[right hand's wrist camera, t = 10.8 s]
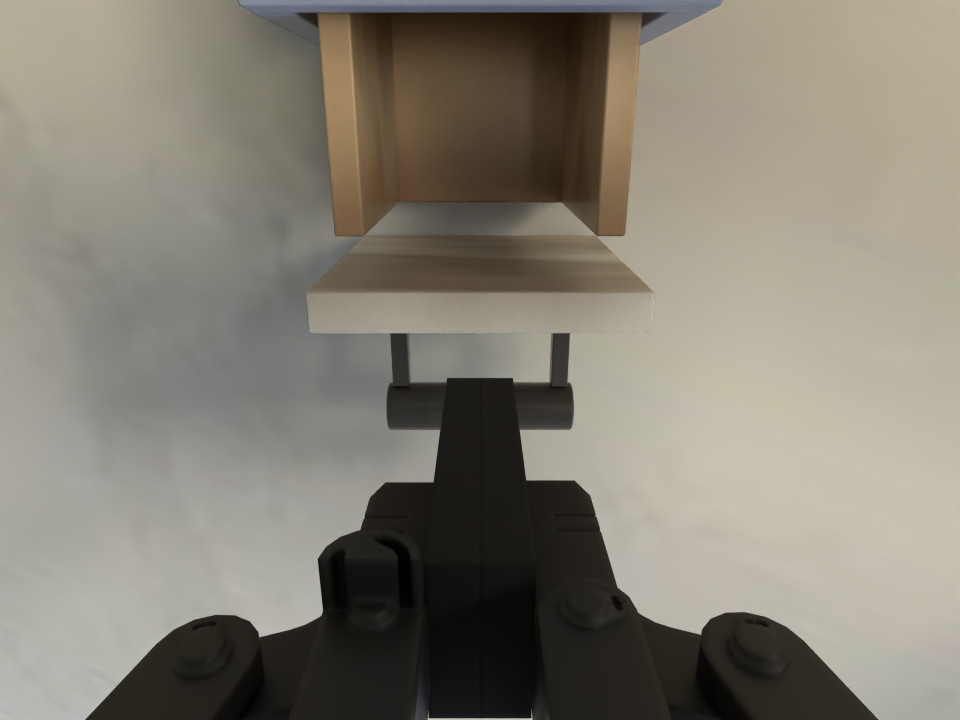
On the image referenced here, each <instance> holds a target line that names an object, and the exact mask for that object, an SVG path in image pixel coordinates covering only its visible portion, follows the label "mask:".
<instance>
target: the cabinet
mask: <svg viewBox="0 0 960 720" xmlns="http://www.w3.org/2000/svg"><path fill="white" fill-rule="evenodd" d="M238 3H239V5H240V6H242V7H244V8H246V9H248V10H250V11H252V12H253V13H254V14H256V15H258V16H261V17H263V18H265V19H267V20H269V21H271V22H273V23H275V24H277V25H279V26H281V27H283V28H285V29H287V30H289V31H291V32H293V33H295V34H297V35H299V36H301V37H303V38H305V39H307V40H309V41H311V42H313V43H315V44H317V45H319V46H320V40H319V28H318V15H317V12H642V25H641V38H640V45H642V44H644V43H646V42H648V41H650V40H652V39H654V38H656V37H658V36H660V35H662V34H664V33H666V32H668V31H670V30H672V29H674V28H676V27H678V26H680V25H682V24H684V23H686V22H688V21H690V20H692V19H694V18H696V17H698V16H700V15H702V14H704V13H706V12H707V11H709V10H711V9H713V8H715V7H717V6H719V5H721V3H722V0H238Z"/></svg>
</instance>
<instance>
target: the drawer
mask: <svg viewBox="0 0 960 720" xmlns="http://www.w3.org/2000/svg"><path fill="white" fill-rule="evenodd" d="M317 15H318V28H319V40H320V53H321V66H322V78H323V91H324V104H325V116H326V129H327V142H328V154H329V167H330V180H331V192H332V205H333V217H334V230H335V235H336V236H364V235H365V234H366V233H367V232H368V231H369V230H370V229H371V228H372V227H373V226H374V225H375V224H376V223H377V222H378V221H380V220H381V219H382V218H383V217H384V216H385V215H386V214H387V213H388V212H389V211H390V210H391V209H392V208H393V207H394V206H395V205H396V204H397V203H398V202H562V203H563V204H564V205H565V206H566V207H567V208H568V209H569V210H570V211H571V212H572V213H573V214H574V215H576V216H577V217H578V218H579V219H580V220H581V221H582V222H583V223H584V224H585V225H586V226H587V227H588V228H589V229H590V230H591V231H592V232H594V233H595V234H596V235H597V236H624V235H625V230H626V217H627V205H628V192H629V179H630V166H631V153H632V140H633V128H634V115H635V102H636V89H637V76H638V64H639V51H640V38H641V25H642V12H317ZM305 295H306V305H307V315H308V326H309V332H310V333H390V335H391V354H392V373H393V382H392V383H390V384H389V387H388V392H387V423H388V427H389V429H390V430H441V422H442V415H443V407H444V399H445V391H446V384H447V382H410V381H411V376H410V352H409V333H551V355H550V382H513V384H514V391H515V399H516V407H517V415H518V422H519V430H570V429H571V428H572V424H573V415H574V400H573V390H572V386H571V383H569V382H567V379H568V359H569V340H570V333H650V332H651V327H652V317H653V307H654V297H655V293H654V292H653V291H652V290H651V289H650V288H649V287H648V286H647V285H646V284H645V283H644V282H643V281H642V280H641V279H640V278H639V277H638V276H637V275H635V274H634V273H633V272H632V271H631V270H630V269H629V268H628V267H627V266H626V265H625V264H624V263H623V262H622V261H621V260H620V259H619V258H618V257H617V256H616V255H615V254H614V253H613V252H612V251H610V250H609V249H608V248H607V247H606V246H605V245H604V244H603V243H602V242H601V241H600V240H599V239H598V238H597V237H596V236H364V237H363V238H362V239H361V240H360V241H359V242H358V243H357V244H356V245H355V246H354V247H353V248H352V249H351V250H350V251H349V252H348V253H347V254H346V255H345V256H344V257H342V258H341V259H340V260H339V261H338V262H337V263H336V264H335V265H334V266H333V267H332V268H331V269H330V270H329V271H328V272H327V273H326V274H325V275H324V276H323V277H322V278H321V279H320V280H319V281H318V282H317V283H315V284H314V285H313V286H312V287H311V288H310V289H309V290H308V291H307V292H306V294H305Z"/></svg>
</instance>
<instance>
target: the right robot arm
mask: <svg viewBox="0 0 960 720" xmlns="http://www.w3.org/2000/svg"><path fill="white" fill-rule="evenodd" d="M318 566H319V575H320V585H321V594H322V604H323V613H322V616H320V617H319V618H317V619H315V620H313V621H312V622H310V623H308V624H306V625H303V626H300V627H297V628H294V629H291V630H288V631H284V632H280V633H276V634H272V635H267V636H263V637H259V634H258V631H257V630H256V629H255V628H254V626H253V625H252V624H251V623H250V621H247V620H245V619H242V618H240V617H237V616H235V615H213V616H209V617H205V618H200V619H196V620H193V621H191V622H189V623H187V624H185V625H183V626H181V627H179V628H177V629H175V630H173V631H172V632H171V633H169V634H168V635H167V636H166V637H164V638H163V639H162V640H161V641H160V642H158V643H157V644H156V645H155V646H154V647H153V648H152V649H151V650H150V652H149V653H148V654H147V655H146V656H145V657H144V658H143V659H142V660H141V661H140V662H139V663H138V664H137V665H136V666H135V668H134V669H133V670H132V671H131V672H130V673H129V674H128V675H127V676H126V677H125V678H124V679H123V680H122V681H121V682H120V683H119V685H118V686H117V687H116V688H115V689H114V690H113V691H112V692H111V693H110V694H109V695H108V696H107V697H106V698H105V699H104V700H103V702H102V703H101V704H100V705H99V706H98V707H97V708H96V709H95V710H94V711H93V712H92V713H91V714H90V715H89V716H88V717H87V719H86V720H428V709H429V718H531V709H532V717H533V720H878V719H877V718H876V717H875V716H874V715H873V714H872V712H871V711H870V710H869V709H868V708H867V707H866V706H865V705H864V704H863V703H862V702H861V701H860V700H859V699H858V698H857V697H856V696H855V695H854V693H853V692H852V691H851V690H850V689H849V688H848V687H847V686H846V685H845V684H844V683H843V682H842V681H841V680H840V679H839V678H838V677H837V676H836V674H835V673H834V672H833V671H832V670H831V669H830V668H829V667H828V666H827V665H826V664H825V663H824V662H823V661H822V660H821V659H820V658H819V657H818V655H817V654H816V653H815V652H814V651H813V650H812V649H811V648H810V647H809V646H808V645H807V644H806V643H805V642H804V641H803V640H802V639H801V638H800V637H798V636H797V635H796V634H795V633H793V632H792V631H791V630H790V629H788V628H787V627H785V626H783V625H781V624H779V623H777V622H775V621H773V620H771V619H769V618H767V617H763V616H759V615H755V614H750V613H746V612H737V613H724V614H722V615H719V616H716V617H714V618H711V619H710V620H709V622H708V623H707V624H706V625H705V627H704V628H703V629H702V634H701V635H699V634H695V633H691V632H687V631H683V630H679V629H675V628H671V627H668V626H664V625H661V624H658V623H655V622H653V621H652V620H650V619H648V618H646V617H644V616H642V615H640V614H639V613H638V612H637V609H636V608H635V606H634V604H633V603H632V601H631V599H630V598H629V596H627V595H626V594H625V593H624V592H622V591H621V590H620V589H619V588H617V584H616V581H615V578H614V574H613V571H612V568H611V564H610V561H609V557H608V554H607V551H606V547H605V544H604V541H603V537H602V534H601V532H600V527H599V524H598V521H597V517H595V510H594V507H593V504H592V500H591V497H590V495H589V494H588V493H587V492H586V491H585V490H584V489H583V488H582V487H581V486H580V485H579V484H577V483H576V482H575V481H526V476H525V468H524V461H523V453H522V445H521V438H520V430H519V422H518V415H517V407H516V399H515V391H514V384H513V378H447V384H446V391H445V399H444V407H443V415H442V422H441V430H440V438H439V445H438V453H437V461H436V468H435V476H434V483H385V484H384V485H383V486H382V487H381V488H380V489H378V490H377V491H376V492H375V493H374V494H373V495H372V496H371V497H370V500H369V503H368V506H367V510H366V513H365V519H364V520H363V523H362V527H361V530H360V531H356V532H353V533H350V534H347V535H345V536H342V537H340V538H338V539H337V540H335V541H334V542H332V543H331V544H330V545H328V546H327V547H326V548H325V549H324V551H323V552H322V554H321V555H320V557H319V558H318Z"/></svg>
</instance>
